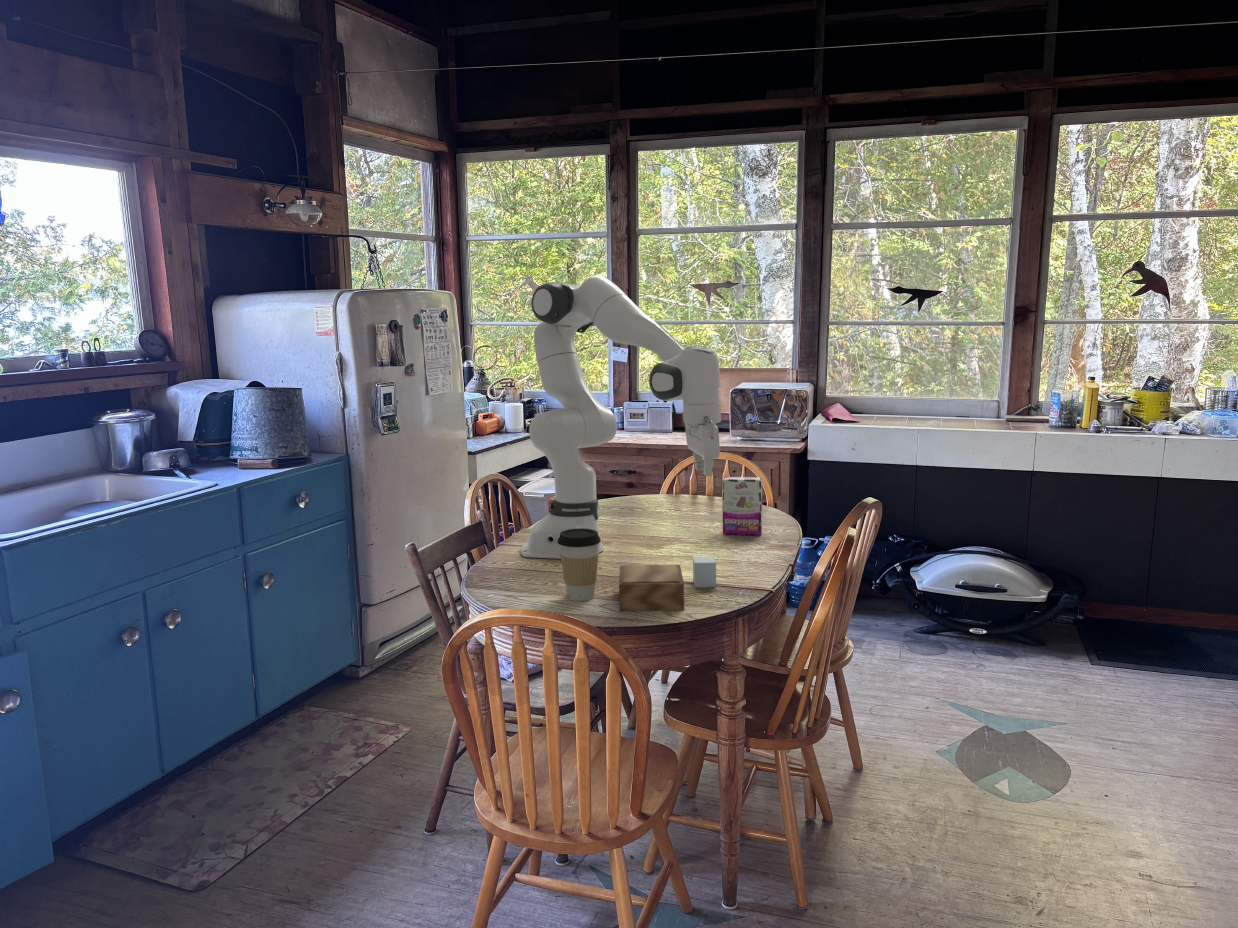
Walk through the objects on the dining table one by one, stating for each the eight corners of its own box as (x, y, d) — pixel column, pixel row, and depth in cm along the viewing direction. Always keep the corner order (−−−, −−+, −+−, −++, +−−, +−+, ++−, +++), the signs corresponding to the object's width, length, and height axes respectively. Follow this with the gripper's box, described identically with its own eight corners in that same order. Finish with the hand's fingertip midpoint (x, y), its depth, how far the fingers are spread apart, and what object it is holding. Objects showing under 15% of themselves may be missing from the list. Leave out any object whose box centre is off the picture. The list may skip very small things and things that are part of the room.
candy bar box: (762, 532, 250) (763, 476, 247) (761, 536, 246) (761, 480, 243) (724, 530, 253) (724, 475, 250) (722, 534, 248) (722, 479, 245)
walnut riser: (619, 610, 187) (619, 583, 186) (620, 590, 201) (619, 564, 199) (684, 609, 187) (683, 582, 185) (680, 589, 200) (680, 563, 199)
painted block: (694, 587, 202) (694, 562, 201) (693, 580, 207) (693, 556, 206) (716, 587, 202) (716, 562, 201) (713, 580, 207) (714, 556, 206)
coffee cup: (601, 589, 202) (600, 527, 199) (602, 603, 192) (600, 538, 189) (559, 590, 201) (557, 528, 199) (558, 604, 192) (556, 539, 189)
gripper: (725, 418, 194) (727, 478, 196) (705, 410, 214) (707, 465, 216) (698, 419, 193) (700, 480, 195) (680, 412, 213) (682, 467, 215)
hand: (703, 472), depth 205 cm, fingers open, 8 cm apart
